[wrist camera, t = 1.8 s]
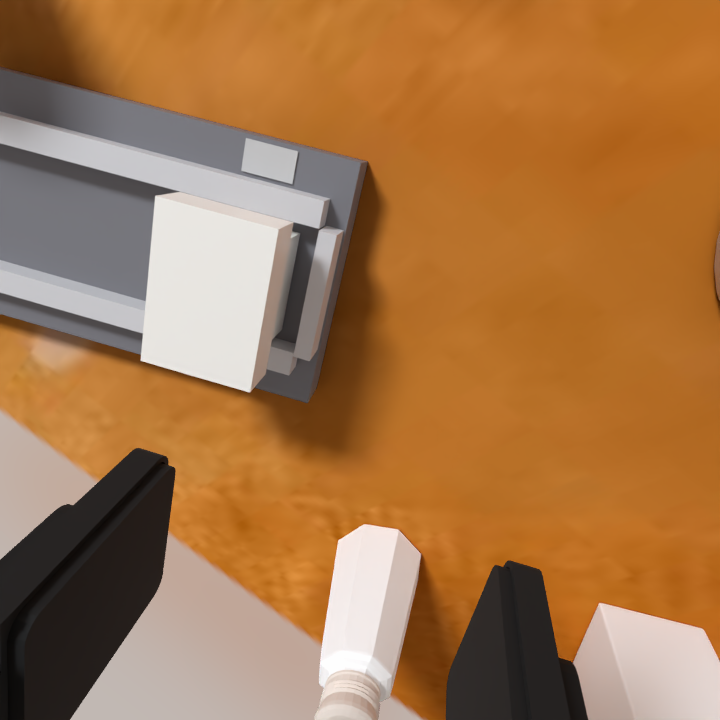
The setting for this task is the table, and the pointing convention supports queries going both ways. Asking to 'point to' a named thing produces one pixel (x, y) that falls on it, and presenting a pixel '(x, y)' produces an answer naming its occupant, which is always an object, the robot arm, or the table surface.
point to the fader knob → (215, 289)
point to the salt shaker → (366, 621)
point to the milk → (647, 668)
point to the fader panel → (136, 209)
